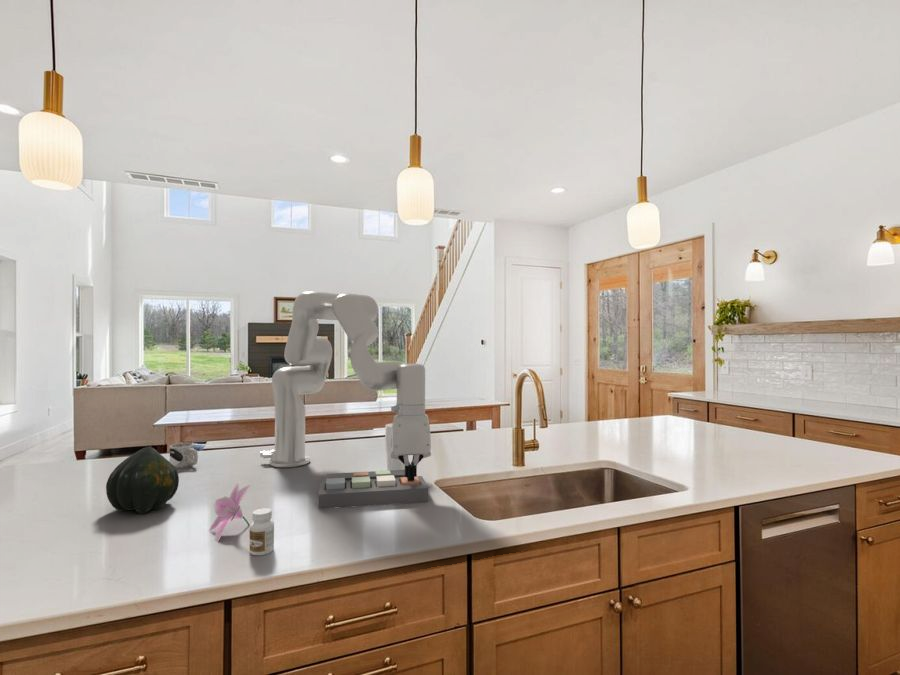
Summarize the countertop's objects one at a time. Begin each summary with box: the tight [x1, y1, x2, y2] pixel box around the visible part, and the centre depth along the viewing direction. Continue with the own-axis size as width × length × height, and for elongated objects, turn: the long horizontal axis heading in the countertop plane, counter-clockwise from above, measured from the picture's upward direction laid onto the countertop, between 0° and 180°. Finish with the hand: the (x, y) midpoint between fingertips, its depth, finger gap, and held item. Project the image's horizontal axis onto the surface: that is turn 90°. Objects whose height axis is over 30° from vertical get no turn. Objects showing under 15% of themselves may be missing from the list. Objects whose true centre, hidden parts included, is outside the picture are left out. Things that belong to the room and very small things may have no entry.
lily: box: [208, 482, 251, 543], centre depth 102 cm, size 12×12×10 cm
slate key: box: [325, 478, 345, 490], centre depth 121 cm, size 5×5×2 cm
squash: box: [105, 446, 180, 514], centre depth 115 cm, size 14×15×15 cm
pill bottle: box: [249, 507, 275, 556], centre depth 92 cm, size 4×4×8 cm
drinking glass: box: [384, 422, 405, 471], centre depth 145 cm, size 7×7×15 cm
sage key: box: [352, 476, 370, 488], centre depth 123 cm, size 5×5×2 cm
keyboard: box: [317, 470, 429, 510], centre depth 125 cm, size 27×16×4 cm, turn 102°
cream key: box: [376, 475, 396, 487], centre depth 124 cm, size 5×5×2 cm
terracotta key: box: [400, 476, 420, 485], centre depth 126 cm, size 5×5×2 cm
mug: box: [169, 442, 199, 470], centre depth 151 cm, size 10×7×7 cm
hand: (410, 479), depth 125 cm, fingers closed
